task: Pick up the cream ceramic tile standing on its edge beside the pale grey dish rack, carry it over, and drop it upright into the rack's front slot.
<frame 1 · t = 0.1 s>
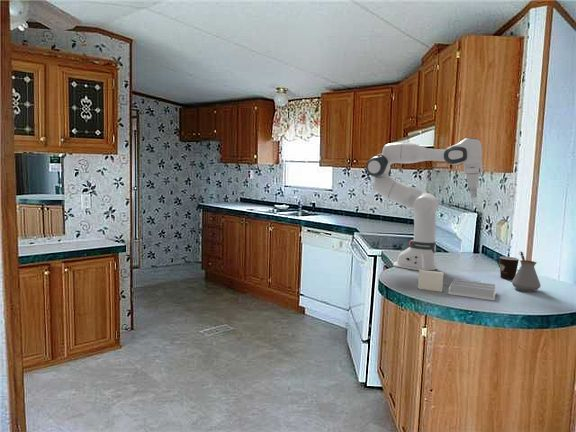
hand: (474, 197, 237), 39 cm above the countertop, tool pointing down, fingers open, 8 cm apart
coffee mug: (506, 277, 234), on the countertop
coffee pot: (523, 287, 215), on the countertop
ceramic tile: (430, 289, 205), on the countertop
dish rack: (472, 293, 200), on the countertop
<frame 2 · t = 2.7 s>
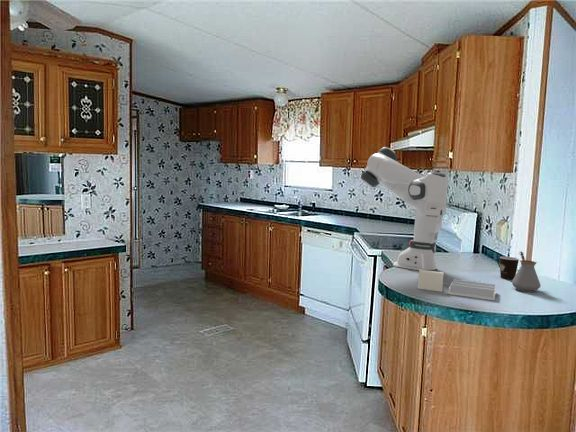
hand: (433, 242, 203), 21 cm above the countertop, tool pointing down, fingers open, 8 cm apart
nothing on the countertop moved.
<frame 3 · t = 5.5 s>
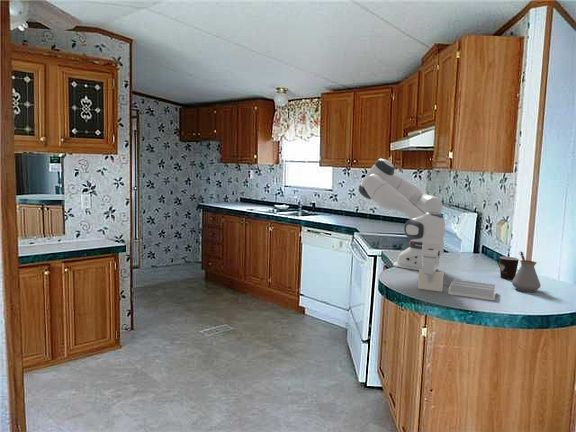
hand: (430, 281, 205), 4 cm above the countertop, tool pointing down, fingers closed on ceramic tile, 2 cm apart
ceramic tile: (430, 289, 205), on the countertop, touching gripper
everything else where it was.
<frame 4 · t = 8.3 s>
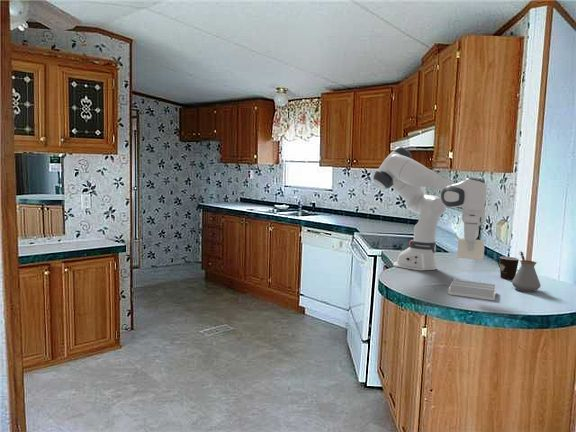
hand: (470, 249, 196), 19 cm above the countertop, tool pointing down, fingers closed on ceramic tile, 2 cm apart
ceramic tile: (470, 258, 196), point 16 cm above the countertop, touching gripper
everything else where it was.
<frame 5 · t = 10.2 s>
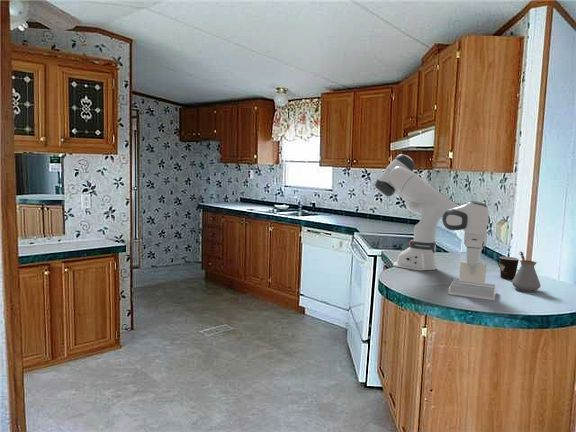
hand: (472, 273, 197), 9 cm above the countertop, tool pointing down, fingers closed on ceramic tile, 2 cm apart
ceramic tile: (472, 281, 197), point 6 cm above the countertop, touching gripper
everything else where it was.
when the fingers open (6 cm above the countertop, at t = 11.5 s): ceramic tile drops 1 cm, resting on dish rack.
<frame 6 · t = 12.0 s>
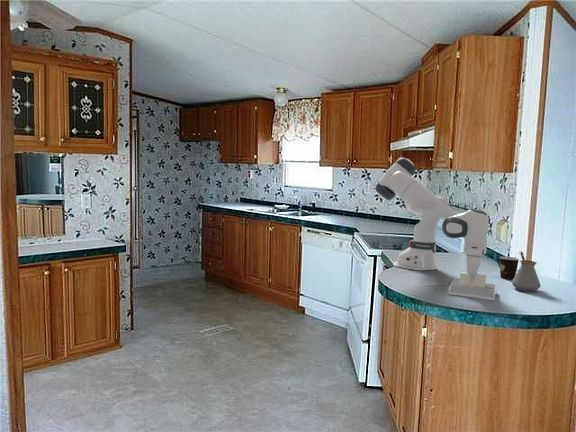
hand: (472, 280, 197), 6 cm above the countertop, tool pointing down, fingers open, 7 cm apart
ceramic tile: (471, 292, 198), point 1 cm above the countertop, touching dish rack
everything else where it was.
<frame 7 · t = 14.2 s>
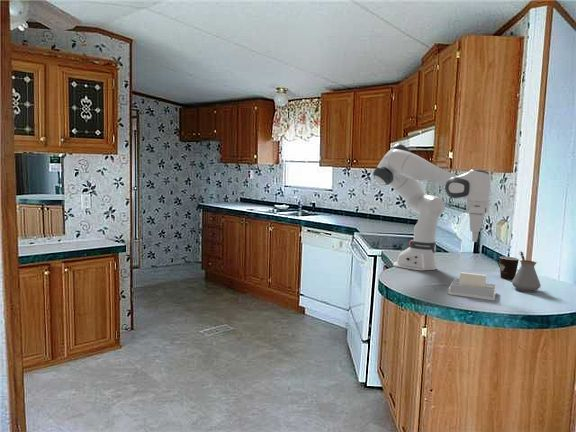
hand: (475, 240, 200), 23 cm above the countertop, tool pointing down, fingers open, 8 cm apart
nothing on the countertop moved.
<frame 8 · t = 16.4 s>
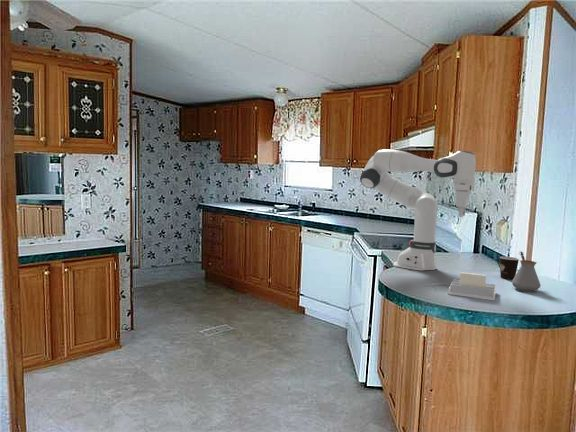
hand: (461, 216, 217), 31 cm above the countertop, tool pointing down, fingers open, 8 cm apart
nothing on the countertop moved.
at the end: ceramic tile 0.1 cm from the target spot on the dish rack, point 1.0 cm above the dish rack's base; ceramic tile tilted 0°; the gripper is holding nothing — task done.
